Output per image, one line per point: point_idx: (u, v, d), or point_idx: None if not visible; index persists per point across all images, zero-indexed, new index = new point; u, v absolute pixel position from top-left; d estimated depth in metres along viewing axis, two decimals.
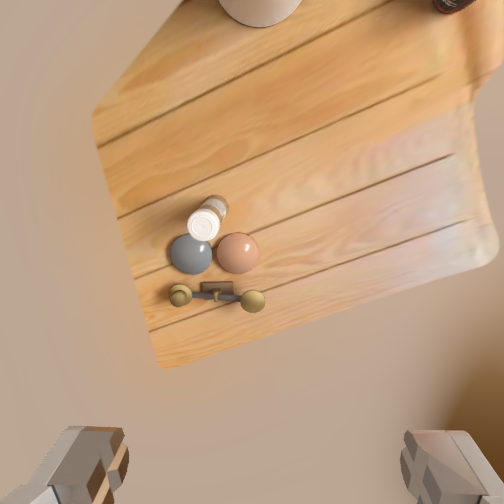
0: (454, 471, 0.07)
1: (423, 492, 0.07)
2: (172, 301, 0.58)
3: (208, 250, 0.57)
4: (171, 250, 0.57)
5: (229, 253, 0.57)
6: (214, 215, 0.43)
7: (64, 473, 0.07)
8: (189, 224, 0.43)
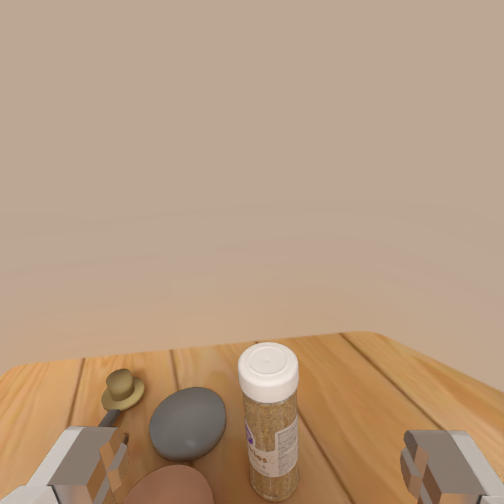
0: (454, 471, 0.07)
1: (423, 492, 0.07)
2: (121, 371, 0.35)
3: (189, 448, 0.29)
4: (203, 389, 0.36)
5: (170, 495, 0.26)
6: (289, 385, 0.21)
7: (64, 474, 0.07)
8: (271, 344, 0.24)
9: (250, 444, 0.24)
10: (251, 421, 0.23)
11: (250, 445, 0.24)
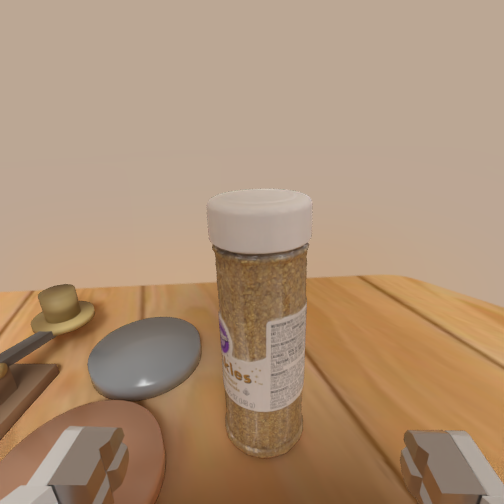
0: (454, 471, 0.07)
1: (423, 492, 0.07)
2: (63, 286, 0.26)
3: (140, 381, 0.20)
4: (174, 319, 0.26)
5: None
6: (296, 223, 0.12)
7: (64, 474, 0.07)
8: (268, 189, 0.15)
9: (225, 354, 0.14)
10: (227, 305, 0.13)
11: (225, 356, 0.15)
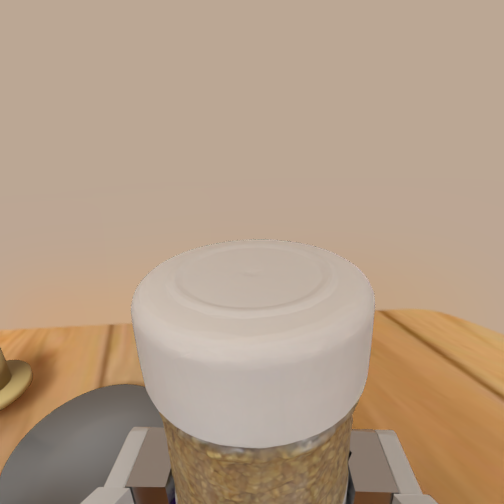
0: (372, 469, 0.07)
1: (347, 490, 0.08)
2: None
3: None
4: (140, 389, 0.19)
5: None
6: (346, 368, 0.04)
7: (140, 475, 0.07)
8: (270, 241, 0.07)
9: None
10: None
11: None
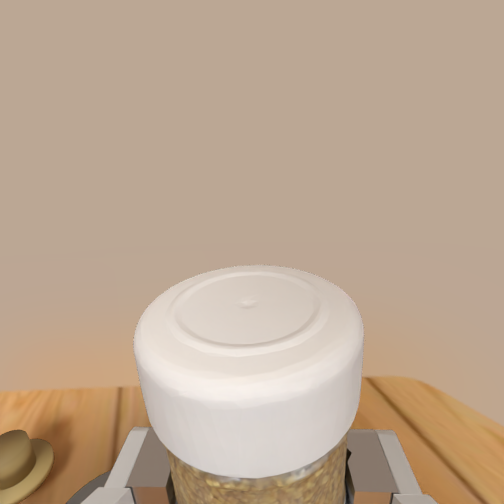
0: (372, 469, 0.07)
1: (347, 490, 0.08)
2: (14, 434, 0.21)
3: None
4: None
5: None
6: (335, 402, 0.05)
7: (140, 475, 0.07)
8: (267, 268, 0.08)
9: None
10: None
11: None
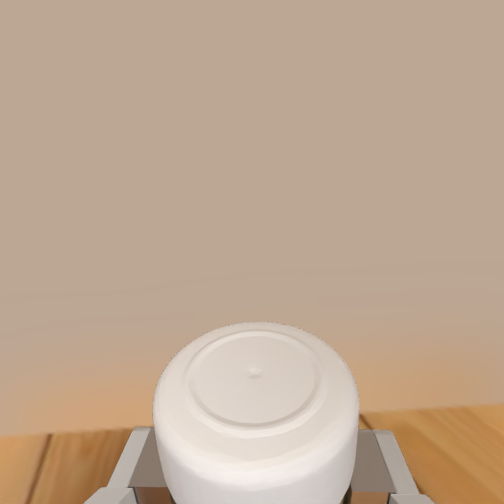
0: (369, 469, 0.07)
1: None
2: None
3: None
4: None
5: None
6: (332, 479, 0.05)
7: (143, 475, 0.07)
8: (272, 327, 0.08)
9: None
10: None
11: None
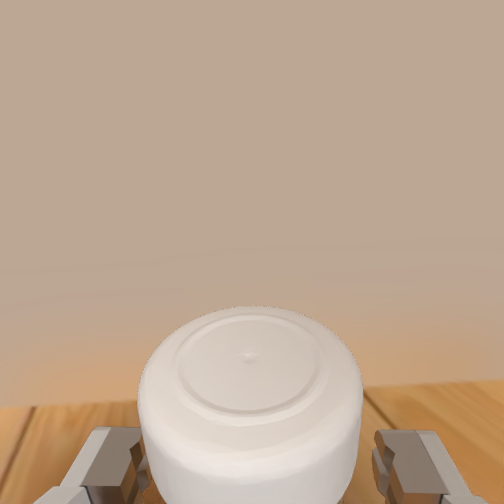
0: (418, 470, 0.07)
1: (390, 492, 0.08)
2: None
3: None
4: None
5: None
6: (333, 472, 0.05)
7: (97, 474, 0.07)
8: (269, 311, 0.08)
9: None
10: None
11: None
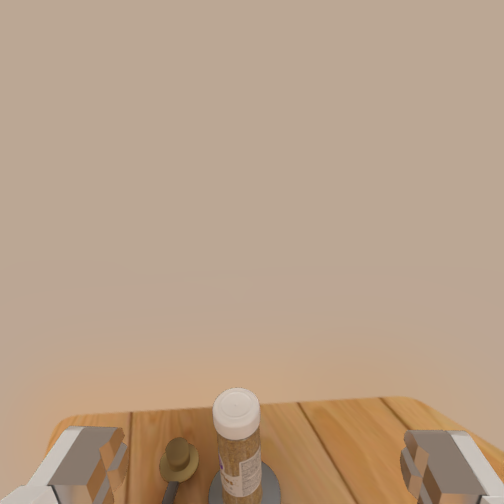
0: (454, 471, 0.07)
1: (423, 492, 0.07)
2: (178, 440, 0.36)
3: None
4: None
5: None
6: (250, 427, 0.27)
7: (64, 473, 0.07)
8: (241, 390, 0.30)
9: (221, 469, 0.30)
10: (221, 452, 0.29)
11: (221, 470, 0.30)
